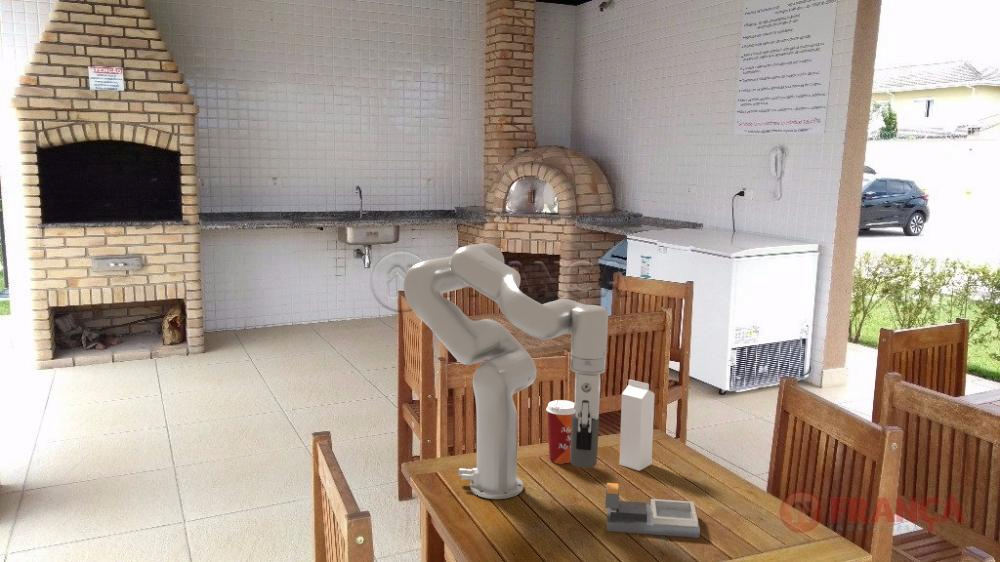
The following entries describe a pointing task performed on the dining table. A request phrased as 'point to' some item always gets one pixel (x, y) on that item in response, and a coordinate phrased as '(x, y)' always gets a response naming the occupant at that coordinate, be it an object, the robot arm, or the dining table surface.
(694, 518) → the panel
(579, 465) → the bottle
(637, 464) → the milk
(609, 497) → the toggle
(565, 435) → the coffee cup
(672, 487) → the dining table surface
